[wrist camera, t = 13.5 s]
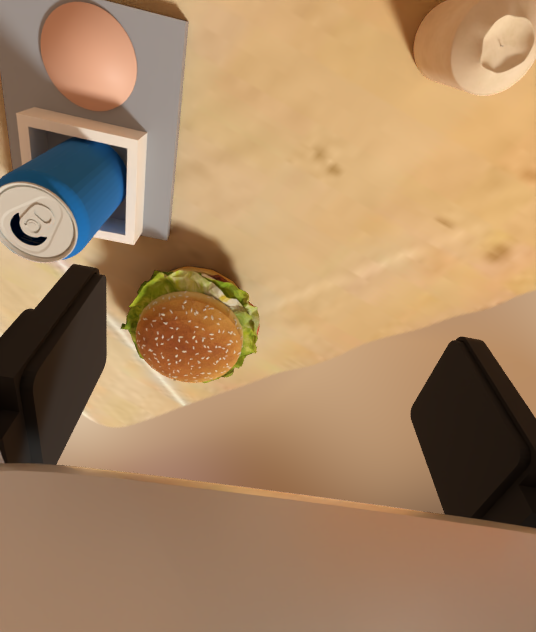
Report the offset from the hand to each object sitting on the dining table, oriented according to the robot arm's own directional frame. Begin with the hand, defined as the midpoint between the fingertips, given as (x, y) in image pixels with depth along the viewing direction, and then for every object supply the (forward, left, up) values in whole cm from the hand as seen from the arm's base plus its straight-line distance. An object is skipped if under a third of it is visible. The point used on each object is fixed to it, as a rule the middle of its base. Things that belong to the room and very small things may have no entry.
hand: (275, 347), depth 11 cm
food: (+20, -4, -31) cm, 37 cm away
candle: (-9, +12, -31) cm, 34 cm away
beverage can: (+7, -15, -29) cm, 34 cm away
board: (+3, -15, -30) cm, 34 cm away
